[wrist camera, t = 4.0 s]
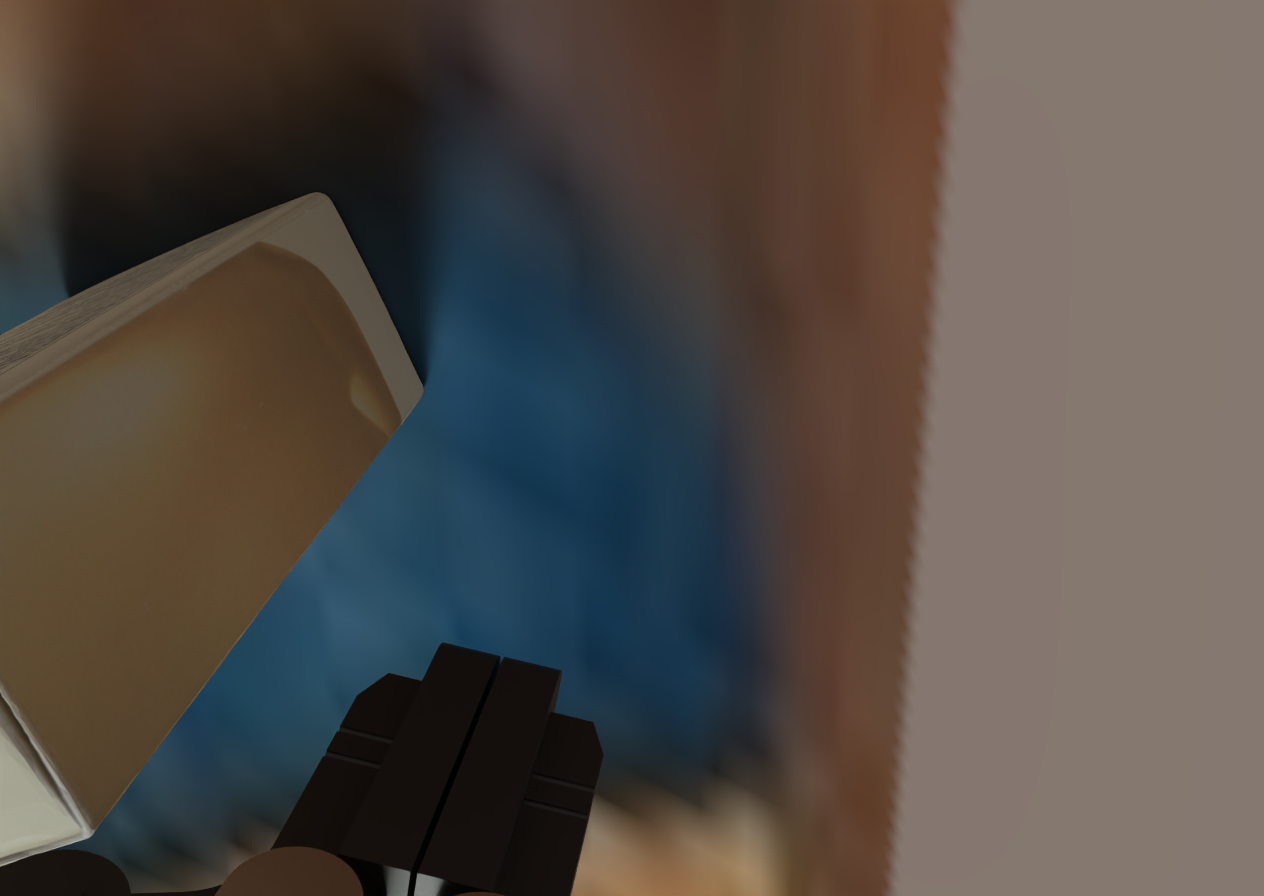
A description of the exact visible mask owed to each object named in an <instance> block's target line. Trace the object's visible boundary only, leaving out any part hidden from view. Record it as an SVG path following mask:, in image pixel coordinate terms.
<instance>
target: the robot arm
mask: <svg viewBox="0 0 1264 896" xmlns="http://www.w3.org/2000/svg"><path fill="white" fill-rule="evenodd" d="M500 661H501V659H500V656H498V655H494V654H489V653H485V652H481V651H477V650H473V649H469V648H464V647H460V646H456V645H452V644H448V643H441V645H440V646H439V648H438V650H437V652H436V654H435V656H434V658H433V660H432V662H431V664H430V666H429V668H428V670H427V672H426V674H425V676H424V678H423V680H422V681H420V680H416V679H411V678H407V677H403V676H399V675H395V674H391V673H388V674H387V675H385V676H384V677H382V678H381V679H380V680H378V681H377V682H375V683H374V684H373V685H371V686H370V687H368V688H367V689H366V690H364V691H363V692H361V693H360V694H358V695H357V697H356V698H355V700H354V702H353V704H352V706H351V707H350V709H349V711H348V713H347V715H346V716H345V718H344V720H343V722H342V723H341V725H340V729H339V732H338V731H337V732H336V734H335V736H334V738H333V740H332V741H331V743H330V745H329V747H328V748H327V751H326V755H325V757H324V756H323V757H322V759H321V761H320V763H319V765H318V766H317V768H316V770H315V772H314V773H313V775H312V777H311V779H310V781H309V782H308V784H307V786H306V788H305V790H304V791H303V793H302V795H301V797H300V799H299V800H298V802H297V804H296V806H295V807H294V809H293V811H292V813H291V815H290V816H289V818H288V820H287V822H286V824H285V825H284V827H283V829H282V831H281V832H280V834H279V836H278V838H277V840H276V841H275V843H274V845H273V846H272V848H271V849H270V850H269V851H265V852H262V853H260V854H258V855H256V856H253V857H251V858H250V859H248V860H246V861H245V862H243V863H242V864H241V865H239V866H238V867H237V868H236V869H235V870H233V872H232V873H231V874H230V875H229V876H228V877H227V879H226V880H225V881H224V883H223V884H222V885H219V886H216V887H212V888H208V889H203V890H198V891H189V892H168V893H135V894H131V891H130V887H129V883H128V881H127V879H126V877H125V875H124V873H123V872H122V871H121V870H120V869H119V867H118V866H116V865H115V864H114V863H112V862H111V861H110V860H108V859H106V858H104V857H102V856H100V855H97V854H93V853H90V852H85V851H79V850H56V851H48V852H43V853H38V854H34V855H31V856H28V857H26V858H23V859H20V860H17V861H15V862H13V863H10V864H8V865H5V866H3V867H0V896H571V893H572V888H573V884H574V880H575V876H576V871H577V867H578V863H579V859H580V855H581V850H582V846H583V842H584V837H585V833H586V829H587V824H588V820H589V816H590V811H591V807H592V803H593V798H594V794H595V789H596V785H597V781H598V776H599V772H600V768H601V763H602V759H603V752H602V749H601V745H600V742H599V739H598V736H597V733H596V729H595V726H594V723H593V722H591V721H586V720H582V719H578V718H574V717H570V716H566V715H562V714H557V713H554V711H555V706H556V701H557V696H558V691H559V686H560V681H561V675H562V671H561V670H557V669H553V668H549V667H545V666H540V665H536V664H532V663H528V662H524V661H520V660H515V659H511V658H507V657H504V658H503V660H502V662H501V664H500Z"/></svg>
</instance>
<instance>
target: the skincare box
mask: <svg viewBox="0 0 1264 896" xmlns="http://www.w3.org/2000/svg"><path fill="white" fill-rule="evenodd" d="M423 392H424V389H423V385H422V383H421V381H420V379H419V377H418V375H417V373H416V371H415V369H414V367H413V364H412V362H411V360H410V358H409V356H408V354H407V352H406V350H405V348H404V345H403V343H402V341H401V338H400V336H399V334H398V332H397V330H396V328H395V326H394V324H393V322H392V320H391V318H390V315H389V313H388V311H387V309H386V307H385V305H384V303H383V301H382V299H381V297H380V295H379V293H378V291H377V289H376V286H375V284H374V282H373V280H372V278H371V276H370V274H369V272H368V270H367V268H366V266H365V264H364V262H363V260H362V259H361V257H360V255H359V253H358V251H357V249H356V247H355V245H354V243H353V241H352V239H351V237H350V235H349V233H348V231H347V229H346V227H345V225H344V223H343V221H342V219H341V218H340V216H339V214H338V212H337V210H336V208H335V206H334V205H333V203H332V201H331V200H330V198H329V197H328V196H326V195H325V194H323V193H320V192H314V193H311V194H307V195H305V196H302V197H299V198H297V199H294V200H292V201H289V202H286V203H284V204H281V205H279V206H276V207H273V208H271V209H268V210H266V211H263V212H261V213H258V214H256V215H253V216H251V217H248V218H246V219H243V220H241V221H238V222H236V223H234V224H231V225H229V226H227V227H224V228H222V229H219V230H217V231H215V232H212V233H210V234H208V235H205V236H203V237H200V238H198V239H196V240H194V241H191V242H189V243H187V244H184V245H182V246H180V247H178V248H175V249H173V250H171V251H169V252H166V253H164V254H162V255H160V256H157V257H155V258H153V259H151V260H148V261H146V262H144V263H142V264H140V265H137V266H135V267H133V268H131V269H129V270H127V271H124V272H122V273H120V274H118V275H116V276H113V277H111V278H109V279H107V280H105V281H103V282H101V283H99V284H97V285H95V286H92V287H90V288H88V289H86V290H84V291H82V292H80V293H78V294H76V295H74V296H72V297H70V298H68V299H66V300H64V301H62V302H60V303H58V304H56V305H55V306H53V307H51V308H50V309H48V310H46V311H44V312H43V313H41V314H39V315H37V316H36V317H34V318H32V319H30V320H28V321H26V322H24V323H22V324H21V325H19V326H17V327H15V328H13V329H11V330H9V331H7V332H6V333H4V334H2V335H0V866H3V865H6V864H9V863H12V862H15V861H17V860H20V859H23V858H26V857H28V856H31V855H34V854H38V853H43V852H46V851H49V850H52V849H56V848H59V847H62V846H65V845H68V844H71V843H75V842H78V841H81V840H85V839H88V838H89V837H90V836H92V835H93V834H94V832H95V831H96V829H97V828H98V826H99V825H100V823H101V822H102V821H103V820H104V818H105V817H106V816H107V815H108V813H109V812H110V811H111V810H112V808H113V807H114V806H115V804H116V803H117V802H118V801H119V799H120V798H121V797H122V795H123V794H124V792H125V791H126V790H127V788H128V787H129V785H130V784H131V783H132V781H133V780H134V778H135V777H136V776H137V774H138V773H139V772H140V771H141V769H142V768H143V767H144V765H145V764H146V763H147V761H148V760H149V759H150V757H151V756H152V755H153V754H154V752H155V751H156V750H157V748H158V747H159V746H160V744H161V743H162V742H163V740H164V739H165V738H166V736H167V735H168V734H169V732H170V731H171V730H172V728H173V727H174V726H175V724H176V723H177V722H178V720H179V719H180V718H181V716H182V715H183V714H184V712H185V711H186V710H187V708H188V707H189V706H190V704H191V703H192V702H193V700H194V699H195V698H196V697H197V695H198V694H199V692H200V691H201V690H202V688H203V687H204V686H205V684H206V683H207V682H208V680H209V679H210V678H211V676H212V675H213V674H214V673H215V671H216V670H217V669H218V667H219V666H220V665H221V664H222V662H223V661H224V659H225V658H226V656H227V655H228V653H229V652H230V651H231V649H232V648H233V647H234V645H235V644H236V643H237V641H238V640H239V639H240V637H241V636H242V635H243V634H244V632H245V631H246V630H247V628H248V627H249V626H250V624H251V623H252V621H253V620H254V619H255V617H256V616H257V615H258V613H259V612H260V610H261V609H262V608H263V607H264V605H265V604H266V603H267V601H268V600H269V599H270V597H271V596H272V595H273V593H274V592H275V591H276V589H277V588H278V587H279V585H280V584H281V583H282V581H283V580H284V579H285V578H286V576H287V575H288V574H289V572H290V571H291V570H292V568H293V567H294V566H295V564H296V563H297V562H298V561H299V559H300V558H301V556H302V555H303V554H304V552H305V551H306V549H307V548H308V547H309V545H310V544H311V543H312V542H313V540H314V539H315V538H316V537H317V535H318V534H319V533H320V531H321V530H322V529H323V527H324V526H325V525H326V523H327V522H328V521H329V519H330V518H331V517H332V515H333V514H334V513H335V511H336V510H337V508H338V507H339V506H340V504H341V503H342V502H343V500H344V499H345V498H346V497H347V495H348V494H349V493H350V491H351V490H352V488H353V487H354V486H355V484H356V483H357V482H358V480H359V479H360V478H361V476H362V475H363V474H364V473H365V471H366V470H367V468H368V467H369V466H370V464H371V463H372V462H373V460H374V459H375V458H376V457H377V455H378V454H379V453H380V451H381V450H382V449H383V447H384V446H385V445H386V443H387V442H388V441H389V439H390V438H391V437H392V436H393V434H394V433H395V432H396V430H397V429H398V428H399V426H400V425H401V424H402V423H403V422H404V420H405V419H406V418H407V416H408V415H409V414H410V412H411V411H412V409H413V408H414V407H415V405H416V404H417V403H418V401H419V400H420V399H421V397H422V395H423Z"/></svg>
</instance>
